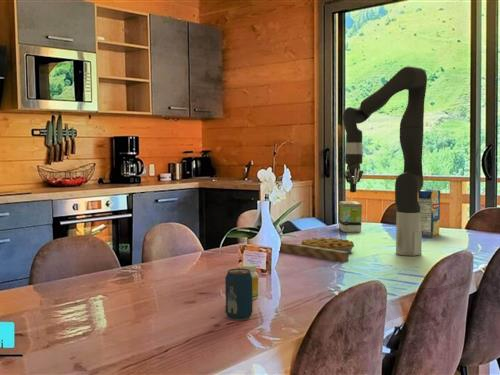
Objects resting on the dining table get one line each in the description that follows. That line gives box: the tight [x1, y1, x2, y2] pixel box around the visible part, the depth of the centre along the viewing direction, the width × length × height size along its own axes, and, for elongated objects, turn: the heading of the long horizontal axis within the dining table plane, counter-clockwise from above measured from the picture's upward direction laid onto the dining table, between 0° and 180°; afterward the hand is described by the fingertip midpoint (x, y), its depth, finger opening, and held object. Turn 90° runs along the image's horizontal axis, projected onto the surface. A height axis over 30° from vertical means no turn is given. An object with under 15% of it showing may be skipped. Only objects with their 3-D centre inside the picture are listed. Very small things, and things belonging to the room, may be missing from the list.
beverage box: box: [418, 189, 441, 238], centre depth 283 cm, size 7×11×22 cm, turn 141°
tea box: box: [338, 200, 363, 233], centre depth 299 cm, size 15×10×15 cm
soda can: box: [224, 267, 254, 321], centre depth 146 cm, size 7×7×12 cm
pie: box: [300, 237, 355, 255], centre depth 239 cm, size 22×22×5 cm
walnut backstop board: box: [279, 241, 349, 263], centre depth 230 cm, size 36×3×4 cm, turn 46°
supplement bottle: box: [241, 263, 259, 301], centre depth 165 cm, size 5×5×10 cm
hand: (353, 192), depth 253 cm, fingers closed
